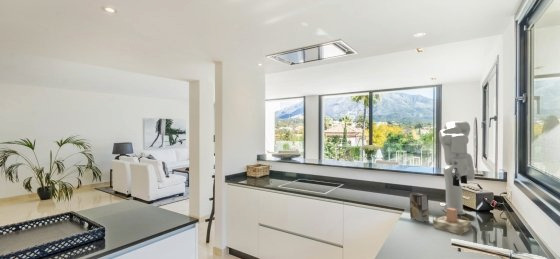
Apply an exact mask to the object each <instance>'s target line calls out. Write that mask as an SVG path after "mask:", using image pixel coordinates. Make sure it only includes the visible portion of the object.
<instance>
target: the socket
mask: <svg viewBox="0 0 560 259" xmlns="http://www.w3.org/2000/svg"><path fill="white" fill-rule="evenodd" d="M432 223H433V225H432V226H433V228H435V229H439V230H443V231H446V232H450V233H453V234H457V235H463V234H464V233H466V232H468V231H470V230H472V221H469V220H464V219H460V218H457V223H452V222H448V221H447V217H446V215H442V216H440V217H437V218H435V219H433V220H432Z"/></svg>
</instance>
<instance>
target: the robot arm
mask: <svg viewBox="0 0 560 259" xmlns="http://www.w3.org/2000/svg"><path fill="white" fill-rule="evenodd" d="M470 132H471V125H470V123H469V122H467V121H460V120H459V121H449V122H446V123H445V125H444V129H440V130H439V133H438V138H439V141H440V144H441V146H442V148H443V154H444V162H445V164H446V165H447V166H446V167H444V169H443V176H444V182H445V203H442V202H441V203H440V204H439V206H440V207H442V208H443V211H444V212H445V213H446V209H447V208H454V209H457V215H465V214H466V213H467V212H466V210H464V205H463V187H462V185H461V184H463V185H464V184H465V185H467V184H468V182H472V181H475V176H476V174H475V167H474V161H473V157H472V155H471V153H468V144H469V135H470Z"/></svg>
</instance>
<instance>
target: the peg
mask: <svg viewBox="0 0 560 259" xmlns="http://www.w3.org/2000/svg"><path fill="white" fill-rule="evenodd" d="M445 214H446V215H445V216H446V217H447V221H448V222H452V223H457V219H458V214H457V209H454V208H447V209H446V212H445Z"/></svg>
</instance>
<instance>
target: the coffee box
mask: <svg viewBox="0 0 560 259" xmlns="http://www.w3.org/2000/svg"><path fill="white" fill-rule="evenodd" d="M429 210H430V209H429V195H428V194H424V193H419V192H410V193H409V215H410V217H411V218H410V219H412V218H413V220H415V219H416V220H415V221H418V220H419V221H418V222H421V223H424V221H426V222H429V221H430V213H429V212H430V211H429Z"/></svg>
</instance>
